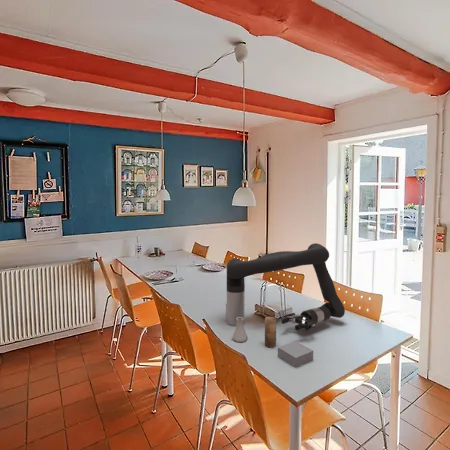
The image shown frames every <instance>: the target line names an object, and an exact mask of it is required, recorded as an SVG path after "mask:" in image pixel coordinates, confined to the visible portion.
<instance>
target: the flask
mask: <svg viewBox="0 0 450 450" xmlns="http://www.w3.org/2000/svg"><path fill="white" fill-rule="evenodd" d="M236 320H237V325H236V326H235V329H234V332H233V335H232V337H231V340H232V341H233V342H235V343H245V342H247V341H248V338H249V337H248V335H247V332H246V329H245V327H244V324H243V318H242V317H237V318H236Z"/></svg>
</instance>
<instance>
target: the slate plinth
mask: <svg viewBox="0 0 450 450" xmlns="http://www.w3.org/2000/svg"><path fill="white" fill-rule="evenodd" d="M277 357H278V358H279V359H281V360H283V361H284V362H286V363H287V364H289V365H290V366H292V367H293V368H296V369H297V368H299V367H300V366H303V365H305V364H308V363H310V362H312V361H314V350H313V349H311V348H309V347H308V346H306V345H304V344H302V343H300V342H298V341H296V340H294V341H291V342H288V343H285V344H283V345H280V346H278V347H277Z"/></svg>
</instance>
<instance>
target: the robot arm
mask: <svg viewBox="0 0 450 450" xmlns="http://www.w3.org/2000/svg"><path fill="white" fill-rule="evenodd" d="M329 257H330V252H329V250H328V248H326V246H324V245H322V244H320V243H315V242H314V243H311V244H310V245H308V247H307V249H304V250H300V251H299V250H298V251H296V250H295V251H294V250H293V251H291V250H287V251H285V250H283V251H276V252H270V253H268V254H264V255H262V256H260V257H257V258H255V259H251V260H250V259H249V260H242V259H239V258H238V257H237V258H235V257H234V258H231V259H230V260H229V261H228V262H227V264H226V303H225V321H226V324H227V325H229V326H231V327H232V326H233V327H236V325H237V320H236V318H237V317H242V318H243V325H244V324H245V300H246V299H245V295H246V294H245V287H246V285H245V284H246V283H245V278H246V277H250V276H252V275H258V274H264V273H265V274H266V273H272V272H273V273H274V272H278V271H283V270H287V269H292V268H296V267H297V268H298V267H301V266H309V265H310V266H311V265H312V267H313V269H314V272H315V274H316V275H315V276H316V278H317V281H318V284H319V287H320V292H321V295H322V299H323V300H324V301H326V302H325V303H323V304H322V305H321V306H317V307H313V308H310V309H307V310H303V311H302V312H301V313H300V314H297V315H296V312H291V313H287V314H285V317H284V318H282V319H281V324H286V323H291V324H295V325H294V330H295V331H298V330H299V331H300V330H305V331H310V330H312V329H314V328H315V327H316V325H319V324H320V323H322V322H326V321H328V320H329V319H330V318H332V317H333V318H338V319H340V318H343V317H344V316H345V314H346V309H345V305H344V304H343V302H342V300H341V298H340V297H339V296H338V294H337V290H336V286H335V283H334V281H333V279H332V276H331V274H330V271H329V270H328V268H327V265H326V262H327V261H328V259H330V258H329Z"/></svg>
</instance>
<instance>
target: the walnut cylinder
mask: <svg viewBox="0 0 450 450" xmlns="http://www.w3.org/2000/svg"><path fill="white" fill-rule="evenodd" d="M264 347H267V348H269V349H272V348H275V347H277V318H276V317H274V316H266V317H265V318H264Z"/></svg>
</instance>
